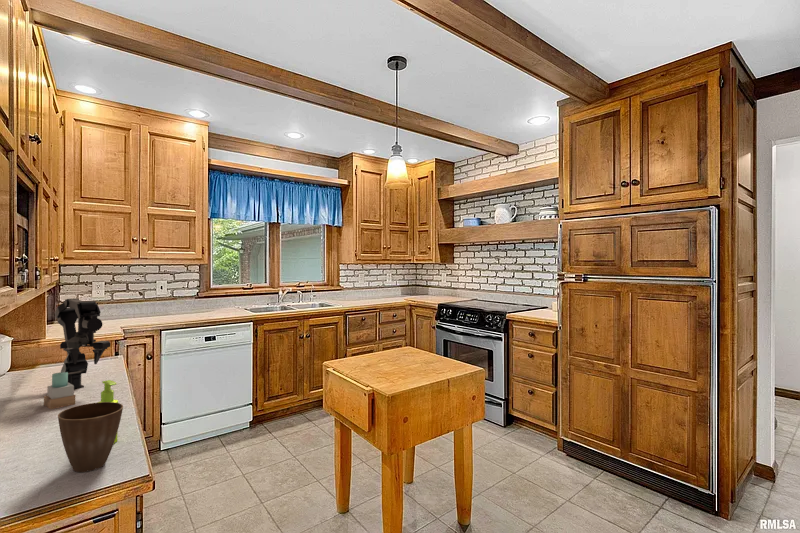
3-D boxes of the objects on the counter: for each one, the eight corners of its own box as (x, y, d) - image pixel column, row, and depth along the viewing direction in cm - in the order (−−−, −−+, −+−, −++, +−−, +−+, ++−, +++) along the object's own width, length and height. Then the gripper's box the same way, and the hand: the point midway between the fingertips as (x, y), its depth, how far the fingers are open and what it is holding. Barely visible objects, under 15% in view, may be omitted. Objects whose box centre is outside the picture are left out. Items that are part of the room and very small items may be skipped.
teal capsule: (49, 386, 169) (50, 373, 169) (64, 383, 174) (65, 371, 174) (54, 388, 167) (54, 375, 167) (69, 385, 171) (69, 373, 171)
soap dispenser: (101, 449, 130) (103, 384, 130) (91, 443, 133) (93, 381, 133) (122, 442, 135) (123, 380, 135) (112, 437, 138) (113, 377, 138)
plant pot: (124, 450, 129) (125, 399, 129) (118, 471, 115) (119, 414, 116) (63, 460, 121) (64, 405, 122) (49, 484, 108) (51, 422, 108)
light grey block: (47, 395, 170) (47, 386, 170) (68, 391, 175) (68, 382, 175) (52, 399, 165) (52, 389, 165) (73, 395, 171) (73, 385, 171)
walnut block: (43, 406, 169) (43, 396, 169) (67, 401, 175) (67, 391, 175) (50, 410, 164) (51, 400, 164) (75, 404, 171) (75, 395, 171)
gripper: (50, 331, 178) (49, 368, 178) (93, 332, 178) (93, 368, 178) (70, 327, 189) (69, 362, 189) (111, 328, 189) (110, 362, 189)
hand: (85, 364), depth 186 cm, fingers open, 9 cm apart
